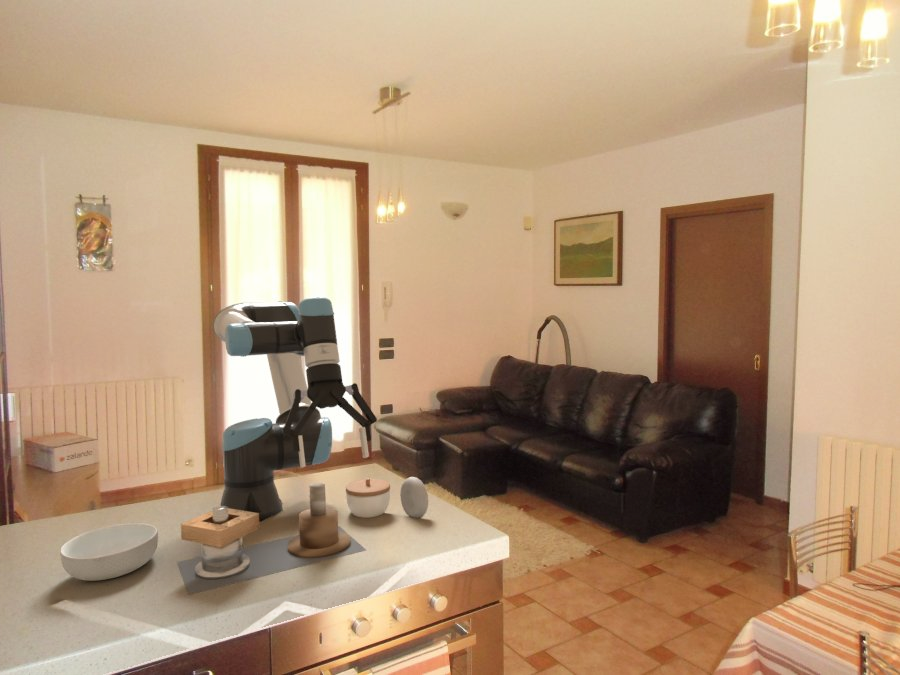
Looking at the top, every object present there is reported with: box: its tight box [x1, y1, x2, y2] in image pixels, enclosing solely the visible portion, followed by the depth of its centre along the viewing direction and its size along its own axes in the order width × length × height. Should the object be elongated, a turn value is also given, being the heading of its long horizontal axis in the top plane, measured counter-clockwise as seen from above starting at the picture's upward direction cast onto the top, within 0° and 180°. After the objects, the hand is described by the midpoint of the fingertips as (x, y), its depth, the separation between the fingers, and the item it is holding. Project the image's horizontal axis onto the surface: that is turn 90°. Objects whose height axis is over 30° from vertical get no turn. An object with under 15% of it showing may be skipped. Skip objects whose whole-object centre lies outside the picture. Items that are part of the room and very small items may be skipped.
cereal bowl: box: [59, 522, 159, 582], centre depth 119 cm, size 17×17×7 cm
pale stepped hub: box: [195, 505, 250, 580], centre depth 117 cm, size 10×10×12 cm
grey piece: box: [399, 476, 429, 519], centre depth 145 cm, size 10×3×10 cm, turn 34°
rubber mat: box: [176, 525, 367, 595], centre depth 122 cm, size 34×16×1 cm, turn 121°
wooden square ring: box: [180, 508, 260, 547], centre depth 117 cm, size 10×10×3 cm
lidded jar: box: [345, 477, 391, 519], centre depth 146 cm, size 11×11×9 cm
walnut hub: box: [288, 482, 351, 558], centre depth 127 cm, size 13×13×13 cm
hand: (335, 462), depth 129 cm, fingers open, 13 cm apart
